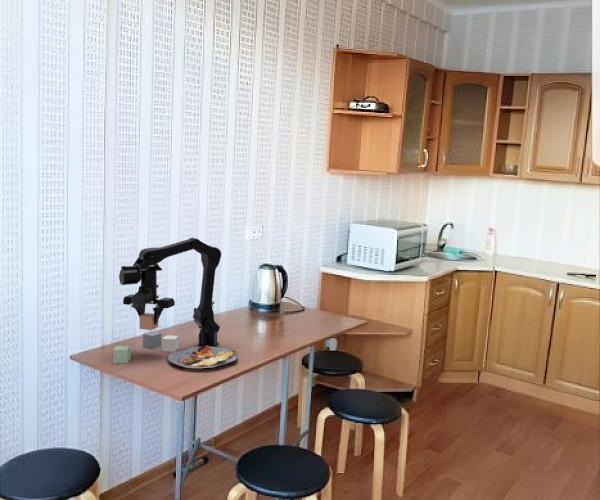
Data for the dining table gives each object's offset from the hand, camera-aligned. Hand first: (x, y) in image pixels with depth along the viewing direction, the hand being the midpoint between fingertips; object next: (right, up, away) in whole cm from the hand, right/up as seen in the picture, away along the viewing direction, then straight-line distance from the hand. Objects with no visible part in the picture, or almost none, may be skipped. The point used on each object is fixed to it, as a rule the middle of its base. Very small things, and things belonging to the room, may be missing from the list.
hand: (149, 323), depth 232 cm
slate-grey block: (-2, -10, +12) cm, 16 cm away
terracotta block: (0, -2, 0) cm, 2 cm away
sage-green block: (-8, -13, -8) cm, 17 cm away
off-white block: (+6, -11, +8) cm, 15 cm away
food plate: (+21, -13, -5) cm, 26 cm away
